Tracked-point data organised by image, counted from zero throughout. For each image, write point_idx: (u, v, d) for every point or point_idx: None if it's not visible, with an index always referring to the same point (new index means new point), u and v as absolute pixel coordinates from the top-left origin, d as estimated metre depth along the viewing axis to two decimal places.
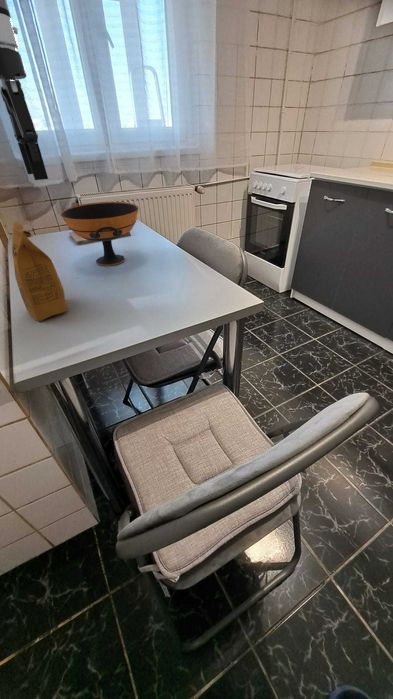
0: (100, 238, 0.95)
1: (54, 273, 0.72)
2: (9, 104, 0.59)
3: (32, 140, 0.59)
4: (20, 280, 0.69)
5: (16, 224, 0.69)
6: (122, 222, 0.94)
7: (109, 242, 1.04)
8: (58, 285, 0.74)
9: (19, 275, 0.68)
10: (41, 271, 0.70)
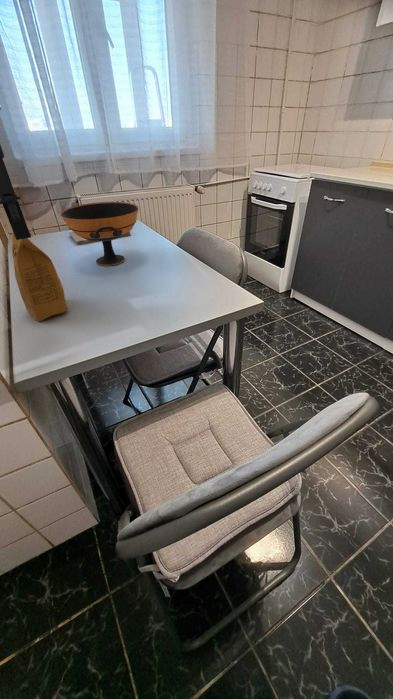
0: (100, 238, 0.95)
1: (54, 273, 0.72)
2: None
3: (11, 200, 0.53)
4: (20, 280, 0.69)
5: None
6: (122, 222, 0.94)
7: (109, 242, 1.04)
8: (58, 285, 0.74)
9: (19, 275, 0.68)
10: (41, 271, 0.70)
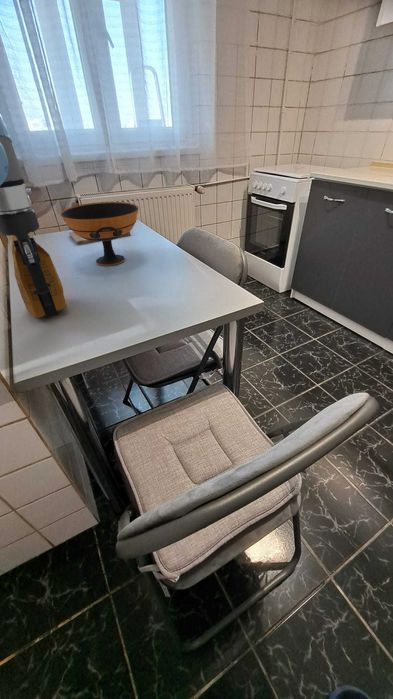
0: (100, 238, 0.95)
1: (52, 269, 0.72)
2: (23, 261, 0.61)
3: (45, 292, 0.65)
4: (18, 275, 0.69)
5: None
6: (122, 222, 0.94)
7: (109, 242, 1.04)
8: (57, 281, 0.74)
9: (17, 270, 0.68)
10: None
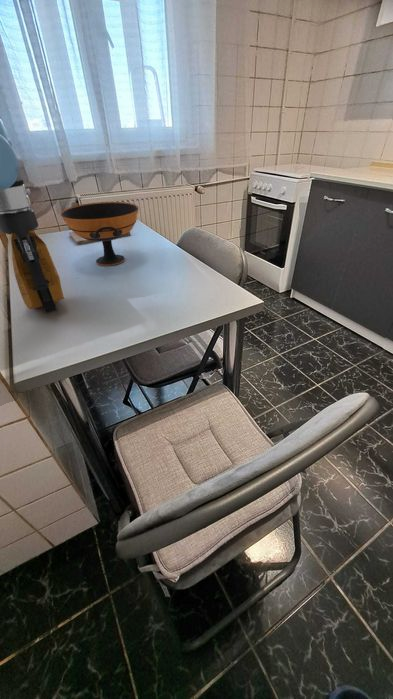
0: (100, 238, 0.95)
1: (49, 258, 0.73)
2: (23, 259, 0.64)
3: (44, 288, 0.68)
4: (15, 263, 0.70)
5: None
6: (122, 222, 0.94)
7: (109, 242, 1.04)
8: (53, 271, 0.74)
9: (14, 258, 0.69)
10: None
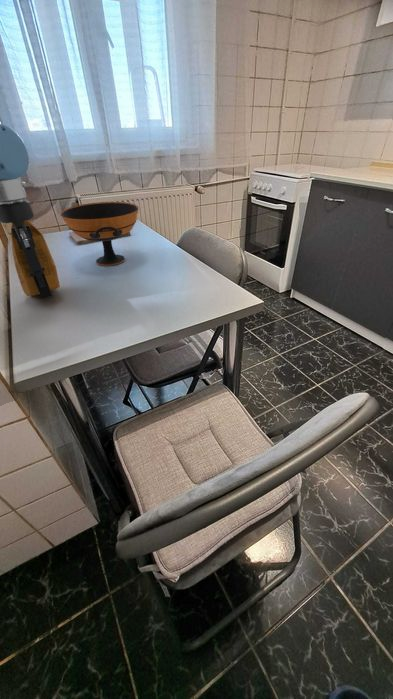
0: (100, 238, 0.95)
1: (46, 248, 0.79)
2: (20, 246, 0.69)
3: (39, 274, 0.74)
4: (14, 253, 0.76)
5: None
6: (122, 222, 0.94)
7: (109, 242, 1.04)
8: (50, 261, 0.80)
9: (13, 248, 0.75)
10: None
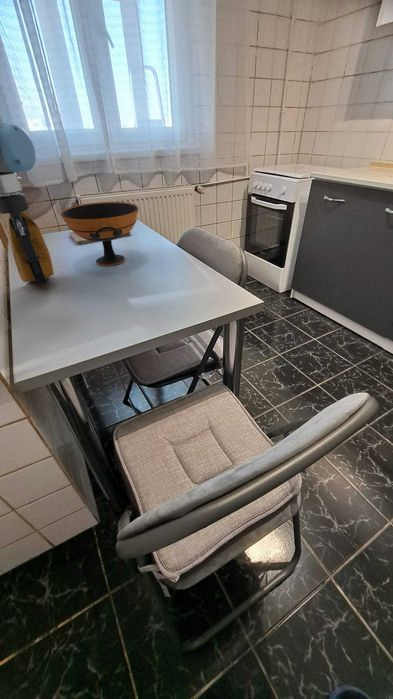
0: (100, 238, 0.95)
1: (40, 238, 0.86)
2: (16, 235, 0.77)
3: (34, 261, 0.81)
4: (12, 242, 0.83)
5: None
6: (122, 222, 0.94)
7: (109, 242, 1.04)
8: (44, 250, 0.87)
9: (11, 237, 0.83)
10: None
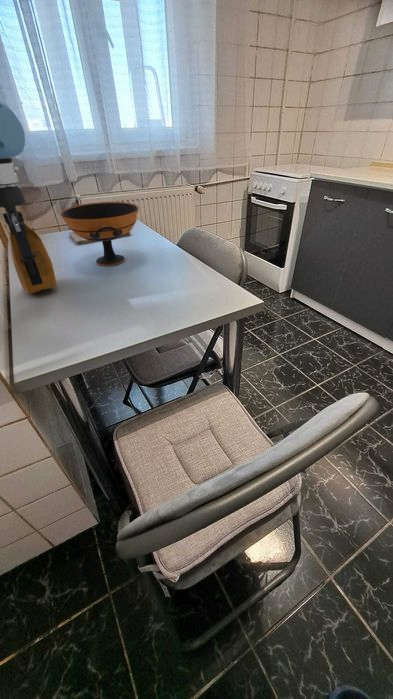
0: (100, 238, 0.95)
1: (43, 250, 0.82)
2: (11, 231, 0.70)
3: (30, 260, 0.74)
4: (13, 255, 0.80)
5: None
6: (122, 222, 0.94)
7: (109, 242, 1.04)
8: (47, 262, 0.84)
9: (12, 250, 0.79)
10: (32, 248, 0.81)
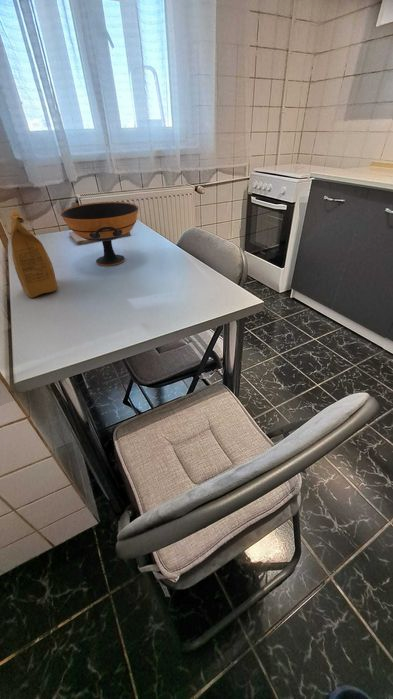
0: (100, 238, 0.95)
1: (44, 255, 0.82)
2: None
3: None
4: (14, 260, 0.79)
5: (13, 212, 0.80)
6: (122, 222, 0.94)
7: (109, 242, 1.04)
8: (48, 266, 0.84)
9: (13, 256, 0.79)
10: (33, 253, 0.80)
